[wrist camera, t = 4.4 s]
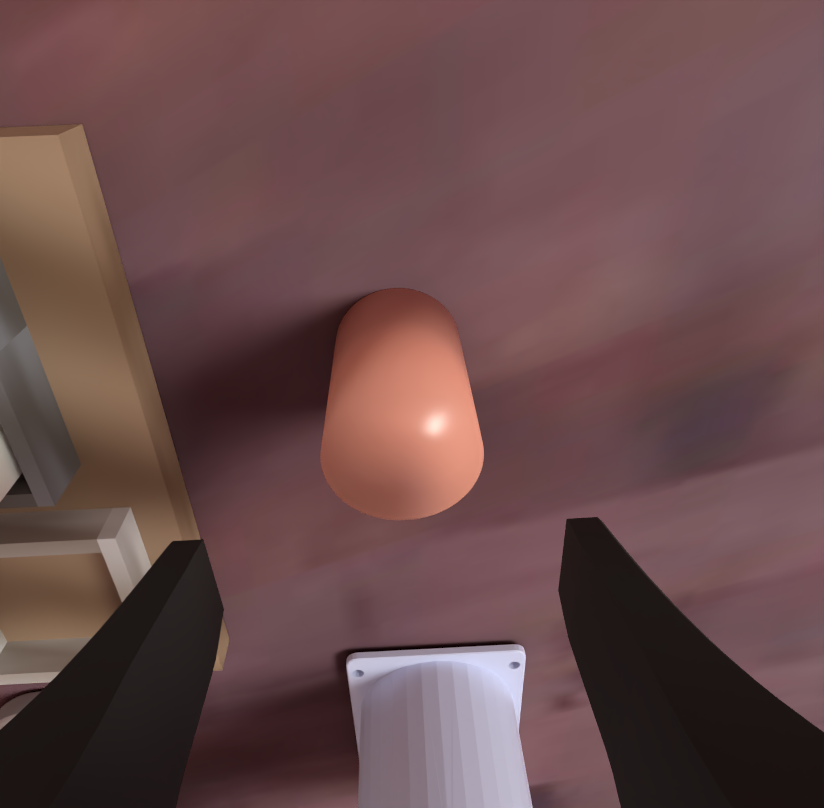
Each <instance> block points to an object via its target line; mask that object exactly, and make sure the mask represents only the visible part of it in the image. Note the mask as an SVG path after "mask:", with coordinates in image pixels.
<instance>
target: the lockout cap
mask: <svg viewBox="0 0 824 808" xmlns="http://www.w3.org/2000/svg"><path fill="white" fill-rule="evenodd" d="M483 458H484V449H483V443H482V438H481V434H480V429H479V424H478V420H477V415H476V411H475V406H474V402H473V397H472V392H471V388H470V383H469V379H468V374H467V370H466V365H465V360H464V356H463V351H462V347H461V342H460V338H459V333H458V329H457V326H456V323H455V321H454V319H453V317H452V316H451V314H450V313H449V312H448V310H447V309H446V308H445V307H444V306H443V305H442V304H441V303H440V302H438V301H437V300H436V299H434V298H432V297H431V296H429V295H427V294H425V293H422V292H420V291H416V290H412V289H405V288H391V289H384V290H380V291H377V292H374V293H371V294H369V295H367V296H365V297H363V298H362V299H360V300H359V301H358V302H356V303H355V304H354V305H353V306H352V307H351V308H350V309H349V310H348V311H347V313H346V314H345V315H344V317H343V319H342V320H341V323H340V325H339V327H338V331H337V335H336V342H335V350H334V357H333V365H332V372H331V379H330V387H329V394H328V402H327V409H326V416H325V424H324V431H323V439H322V446H321V466H322V470H323V473H324V476H325V479H326V481H327V482H328V484H329V486H330V487H331V489H332V490H333V491H334V492H335V494H336V495H337V496H338V497H339V498H340V499H341V500H343V501H344V502H345V503H347V504H348V505H349V506H351V507H353V508H354V509H356V510H358V511H360V512H362V513H365V514H367V515H371V516H374V517H378V518H383V519H389V520H412V519H419V518H424V517H427V516H431V515H434V514H437V513H439V512H441V511H444V510H445V509H447V508H449V507H451V506H452V505H454V504H455V503H457V502H458V501H459V500H461V499H462V498H463V497H464V496H465V495H466V494H467V493H468V492H469V491H470V489H471V488H472V487H473V485H474V484H475V482H476V481H477V479H478V477H479V474H480V472H481V469H482V465H483Z"/></svg>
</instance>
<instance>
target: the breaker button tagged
mask: <svg viewBox="0 0 824 808" xmlns="http://www.w3.org/2000/svg"><path fill="white" fill-rule="evenodd" d="M21 474H22V470H21V468H20V466H19V463H18V461H17V459H16V457H15V455H14V452H13V450H12V448H11V446H10V444H9V441H8V439H7V437H6V435H5V433H4V430H3V428H2V426H1V424H0V502H1V501H2V499H3V498H4V497H5V495H6V494H7V493H8V491H9V490H10V489H11V487H12V486H13V485H14V483H15V482H16V480H17V479H18V478H19V476H20V475H21Z"/></svg>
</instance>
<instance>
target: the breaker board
mask: <svg viewBox="0 0 824 808" xmlns="http://www.w3.org/2000/svg"><path fill="white" fill-rule="evenodd" d="M0 424H1V426H2V428H3V430H4V433H5V435H6V437H7V439H8V441H9V444H10V446H11V448H12V450H13V452H14V455H15V457H16V459H17V461H18V463H19V466H20V468H21V470H22V474H21V475H20V476H19V478H18V479H17V480H16V482H15V483H14V485H13V486H12V487H11V489H10V490H9V491H8V493H7V494H6V495H5V497H4V498H3V499H2V501H1V502H0V685H5V684H24V683H43V682H51V681H52V680H53V679H54V678H55V677H56V676H57V675H58V674H59V673H60V672H61V671H62V670H63V668H64V667H65V666H66V665H67V664H68V663H69V662H70V661H71V660H72V659H73V658H74V657H75V655H76V654H77V653H78V652H79V651H80V650H81V649H82V648H83V647H84V646H85V645H86V644H87V643H88V641H89V640H90V639H91V638H92V637H93V636H94V635H95V634H96V633H97V631H98V630H99V629H100V628H101V627H102V626H103V624H104V623H105V622H106V621H107V620H108V619H109V617H110V616H111V615H112V614H113V613H114V611H115V610H116V609H117V608H118V607H119V606H120V604H121V603H122V602H123V601H124V600H125V598H126V597H127V596H128V595H129V594H130V592H131V591H132V590H133V589H134V587H135V586H136V585H137V584H138V582H139V581H140V580H141V579H142V578H143V576H144V575H145V574H146V573H147V571H148V570H149V569H150V568H151V566H152V565H153V564H154V563H155V561H156V560H157V559H158V557H159V556H160V555H161V554H162V553H163V551H164V550H165V549H166V548H167V546H168V545H169V544H170V543H171V542H172V541H182V540H200V535H199V532H198V528H197V525H196V521H195V518H194V514H193V511H192V507H191V504H190V500H189V497H188V493H187V490H186V486H185V483H184V479H183V476H182V472H181V469H180V465H179V462H178V458H177V455H176V451H175V448H174V444H173V441H172V437H171V434H170V430H169V427H168V423H167V420H166V416H165V413H164V409H163V406H162V402H161V399H160V395H159V392H158V388H157V385H156V381H155V378H154V374H153V371H152V367H151V364H150V360H149V357H148V353H147V350H146V346H145V343H144V339H143V336H142V332H141V329H140V325H139V322H138V318H137V315H136V311H135V308H134V304H133V301H132V297H131V294H130V290H129V287H128V283H127V280H126V276H125V273H124V269H123V266H122V262H121V259H120V255H119V252H118V248H117V245H116V241H115V238H114V234H113V231H112V227H111V224H110V220H109V217H108V213H107V210H106V206H105V203H104V199H103V196H102V192H101V189H100V185H99V182H98V178H97V175H96V171H95V168H94V164H93V161H92V157H91V154H90V150H89V147H88V143H87V140H86V136H85V133H84V129H83V126H82V124H72V125H47V126H23V127H0ZM228 644H229V637H228V633H227V630H226V626H225V623H224V619H223V618H222V625H221V632H220V639H219V645H218V650H217V656H216V661H215V665H214V669H213V671H216V670H222V669H223V665H224V660H225V656H226V652H227V648H228Z"/></svg>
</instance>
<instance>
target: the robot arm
mask: <svg viewBox="0 0 824 808" xmlns="http://www.w3.org/2000/svg"><path fill="white" fill-rule="evenodd" d="M558 591H559V595H560V600H561V605H562V610H563V615H564V620H565V624H566V629H567V633H568V638H569V641H570V644H571V647H572V650H573V653H574V656H575V659H576V662H577V665H578V668H579V671H580V674H581V677H582V680H583V683H584V686H585V689H586V692H587V695H588V698H589V701H590V704H591V707H592V710H593V713H594V716H595V719H596V722H597V725H598V727H599V730H600V733H601V736H602V739H603V742H604V745H605V748H606V752H607V755H608V758H609V762H610V765H611V768H612V772H613V776H614V780H615V784H616V788H617V792H618V797H619V801H620V805H621V808H824V732H823V731H821V730H820V729H819V728H817V727H816V726H814V725H813V724H812V723H810V722H809V721H808V720H806V719H805V718H804V717H802V716H801V715H800V714H798V713H797V712H795V711H794V710H793V709H791V708H790V707H789V706H787V705H786V704H785V703H783V702H782V701H781V700H779V699H778V698H777V697H775V696H774V695H773V694H772V693H770V692H769V691H768V690H767V689H765V688H764V687H763V686H762V685H761V684H759V683H758V682H757V681H756V680H754V679H753V678H752V677H751V676H750V675H749V674H747V673H746V672H745V671H744V670H743V669H742V668H740V667H739V666H738V665H737V664H736V663H735V662H733V661H732V660H731V659H730V658H729V657H728V656H727V655H726V654H724V653H723V652H722V651H721V650H720V649H719V648H718V647H717V646H716V645H715V644H714V643H713V642H711V641H710V640H709V639H708V638H707V637H706V636H705V635H704V634H703V633H702V632H701V631H700V630H699V629H698V628H697V627H696V626H695V625H694V624H693V623H692V622H691V621H690V620H689V619H688V618H687V617H686V616H685V615H684V614H683V613H682V612H681V611H680V610H679V609H678V608H677V607H676V606H675V605H674V604H673V603H672V602H671V601H670V600H669V598H668V597H667V596H666V595H665V594H664V593H663V592H662V591H661V590H660V589H659V588H658V587H657V586H656V584H655V583H654V582H653V581H652V580H651V579H650V578H649V577H648V576H647V574H646V573H645V572H644V571H643V570H642V569H641V568H640V566H639V565H638V564H637V563H636V562H635V561H634V559H633V558H632V557H631V556H630V555H629V554H628V552H627V551H626V550H625V549H624V548H623V546H622V545H621V544H620V543H619V542H618V540H617V539H616V538H615V537H614V535H613V534H612V533H611V532H610V531H609V529H608V528H607V527H606V526H605V524H604V523H603V522H602V521H601V520H600V519H599V518H598V517H592V518H575V519H567V521H566V530H565V538H564V547H563V555H562V564H561V572H560V581H559V590H558ZM223 611H224V608H223V605H222V601H221V598H220V595H219V591H218V588H217V584H216V581H215V578H214V574H213V571H212V567H211V564H210V561H209V557H208V554H207V550H206V547H205V544H204V540H203V539H200V540H182V541H172V542H171V543H170V544H169V545H168V546H167V548H166V549H165V550H164V551H163V553H162V554H161V555H160V556H159V557H158V559H157V560H156V561H155V563H154V564H153V565H152V566H151V568H150V569H149V570H148V571H147V573H146V574H145V575H144V576H143V578H142V579H141V580H140V581H139V582H138V584H137V585H136V586H135V587H134V589H133V590H132V591H131V592H130V594H129V595H128V596H127V597H126V598H125V600H124V601H123V602H122V603H121V604H120V606H119V607H118V608H117V609H116V610H115V611H114V613H113V614H112V615H111V616H110V617H109V619H108V620H107V621H106V622H105V623H104V624H103V626H102V627H101V628H100V629H99V630H98V631H97V633H96V634H95V635H94V636H93V637H92V638H91V639H90V640H89V641H88V643H87V644H86V645H85V646H84V647H83V648H82V649H81V650H80V651H79V652H78V653H77V654H76V655H75V657H74V658H73V659H72V660H71V661H70V662H69V663H68V664H67V665H66V666H65V667H64V668H63V670H62V671H61V672H60V673H59V674H58V675H57V676H56V677H55V678H54V679H53V680H52V681H51V682H50V683H49V684H48V685H47V686H46V687H45V688H44V689H43V690H42V691H41V692H40V693H39V694H38V695H37V696H36V697H35V698H34V699H33V700H32V701H31V702H30V703H28V704H27V705H26V706H25V707H24V708H23V709H22V710H21V711H20V712H19V713H18V714H17V715H16V716H15V717H14V718H13V719H11V720H10V721H9V722H8V723H7V724H6V725H5V726H4V727H3V728H1V729H0V808H176V804H177V799H178V794H179V790H180V786H181V782H182V778H183V774H184V770H185V767H186V763H187V760H188V756H189V753H190V749H191V746H192V742H193V739H194V736H195V732H196V729H197V725H198V722H199V718H200V715H201V711H202V708H203V704H204V701H205V697H206V694H207V690H208V687H209V683H210V679H211V676H212V672H213V669H214V665H215V661H216V656H217V650H218V645H219V639H220V632H221V625H222V618H223ZM525 660H526V655H525V651H524V648H523V647H522V646H520V645H518V644H508V645H489V646H470V647H451V648H432V649H413V650H394V651H375V652H356V653H352V654H350V655H349V656H348V657H347V660H346V669H347V676H348V683H349V690H350V697H351V705H352V712H353V719H354V726H355V733H356V740H357V747H358V754H359V789H358V808H533V807H532V802H531V796H530V791H529V785H528V780H527V774H526V769H525V763H524V758H523V752H522V747H521V741H520V736H519V721H520V711H521V701H522V691H523V680H524V670H525Z"/></svg>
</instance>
